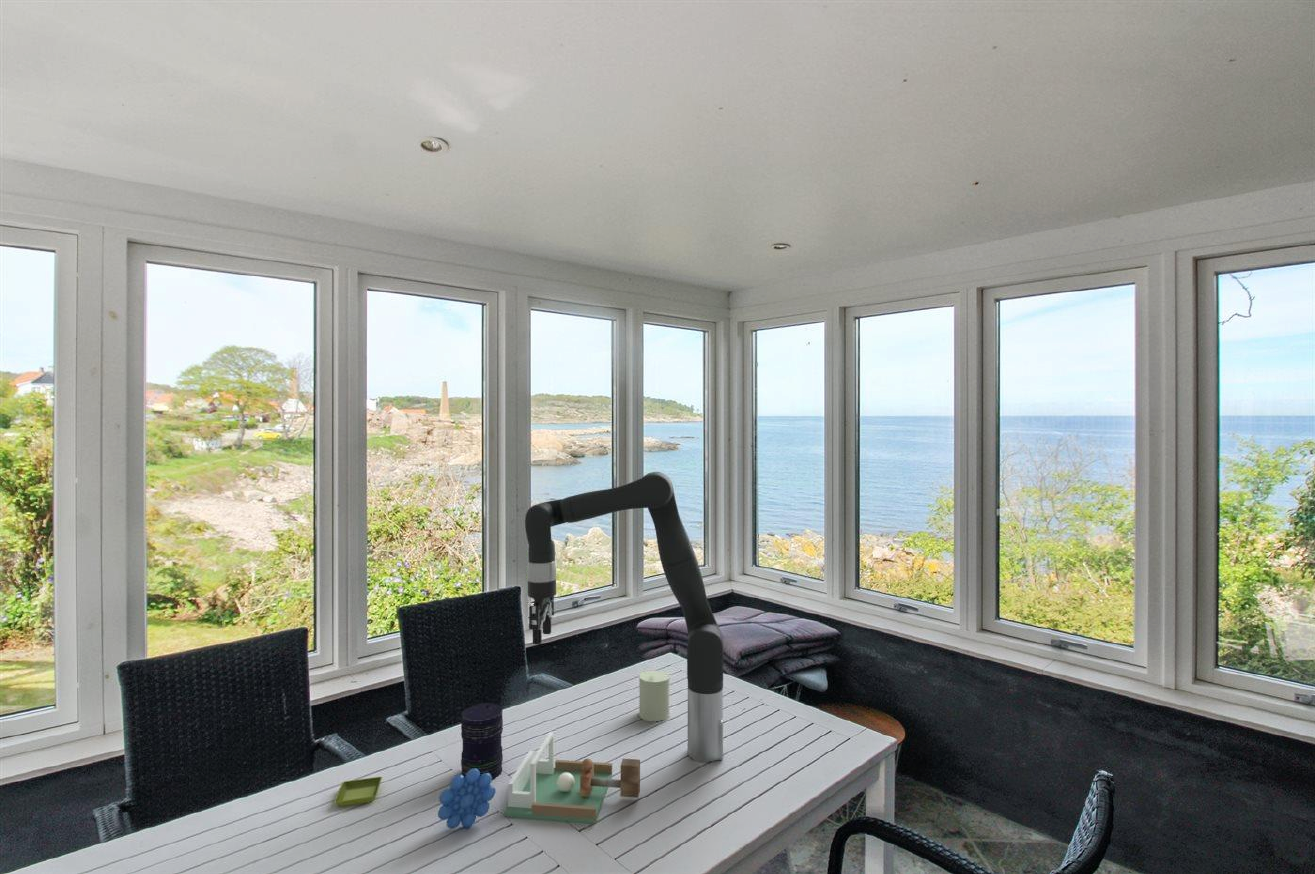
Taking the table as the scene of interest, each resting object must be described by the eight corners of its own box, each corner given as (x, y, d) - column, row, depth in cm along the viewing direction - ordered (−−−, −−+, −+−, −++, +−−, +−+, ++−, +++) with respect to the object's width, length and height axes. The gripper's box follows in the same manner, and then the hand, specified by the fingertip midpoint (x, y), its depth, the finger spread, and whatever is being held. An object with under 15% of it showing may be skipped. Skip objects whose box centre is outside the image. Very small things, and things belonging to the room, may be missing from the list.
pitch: (612, 775, 151) (612, 731, 151) (595, 823, 132) (595, 772, 132) (532, 770, 153) (532, 726, 153) (504, 816, 135) (504, 766, 135)
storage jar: (491, 785, 146) (491, 722, 147) (453, 781, 148) (453, 718, 148) (509, 764, 156) (509, 704, 156) (473, 760, 158) (473, 701, 158)
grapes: (494, 810, 137) (494, 755, 137) (496, 828, 130) (496, 771, 130) (438, 819, 133) (438, 763, 133) (437, 839, 127) (437, 780, 127)
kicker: (640, 787, 143) (640, 756, 143) (637, 800, 138) (637, 768, 138) (584, 783, 145) (584, 753, 145) (578, 795, 140) (579, 764, 140)
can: (634, 719, 181) (634, 678, 182) (644, 706, 190) (644, 667, 190) (664, 723, 179) (664, 681, 179) (673, 710, 188) (673, 670, 188)
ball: (576, 786, 144) (576, 769, 144) (572, 796, 140) (572, 778, 140) (559, 785, 145) (559, 768, 145) (554, 795, 141) (554, 777, 141)
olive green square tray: (333, 811, 137) (333, 802, 137) (342, 790, 145) (342, 781, 145) (376, 805, 139) (376, 796, 139) (382, 784, 148) (382, 775, 148)
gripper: (547, 584, 159) (547, 648, 159) (562, 572, 173) (563, 630, 173) (519, 583, 160) (519, 647, 159) (536, 572, 174) (537, 630, 174)
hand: (542, 638), depth 166 cm, fingers open, 8 cm apart
